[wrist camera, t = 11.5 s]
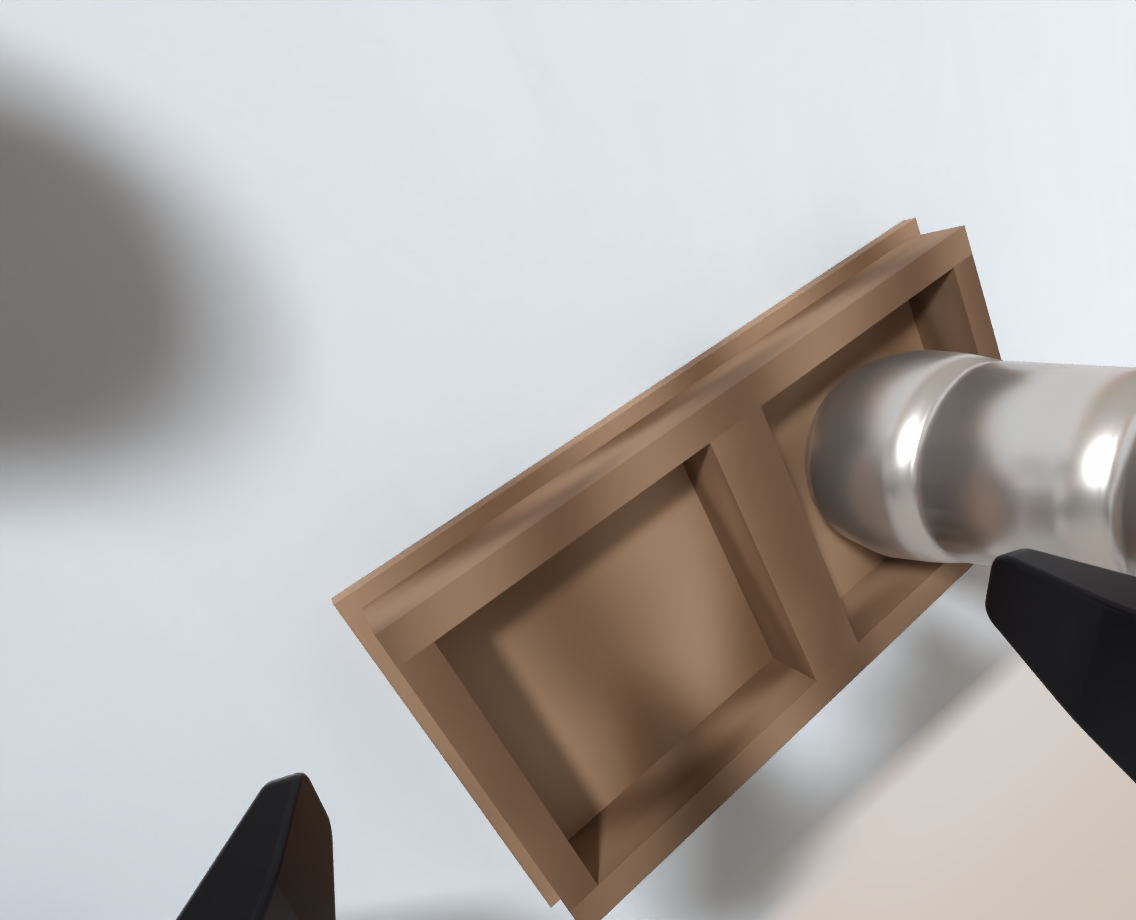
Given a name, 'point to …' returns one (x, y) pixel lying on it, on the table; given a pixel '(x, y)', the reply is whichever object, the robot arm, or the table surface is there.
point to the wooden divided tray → (665, 585)
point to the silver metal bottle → (979, 459)
